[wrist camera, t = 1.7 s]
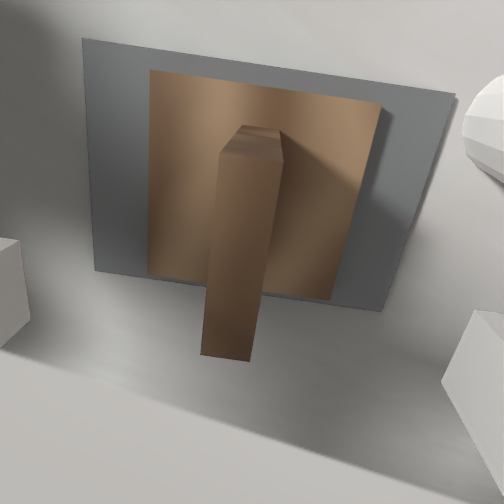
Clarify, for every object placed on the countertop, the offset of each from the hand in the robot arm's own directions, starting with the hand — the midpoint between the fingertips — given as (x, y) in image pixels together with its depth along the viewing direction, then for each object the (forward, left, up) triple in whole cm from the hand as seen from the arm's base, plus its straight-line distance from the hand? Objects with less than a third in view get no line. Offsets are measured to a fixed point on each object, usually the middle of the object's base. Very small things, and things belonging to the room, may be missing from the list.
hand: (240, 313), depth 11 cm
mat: (0, 0, -13) cm, 13 cm away
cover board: (0, 0, -13) cm, 13 cm away
